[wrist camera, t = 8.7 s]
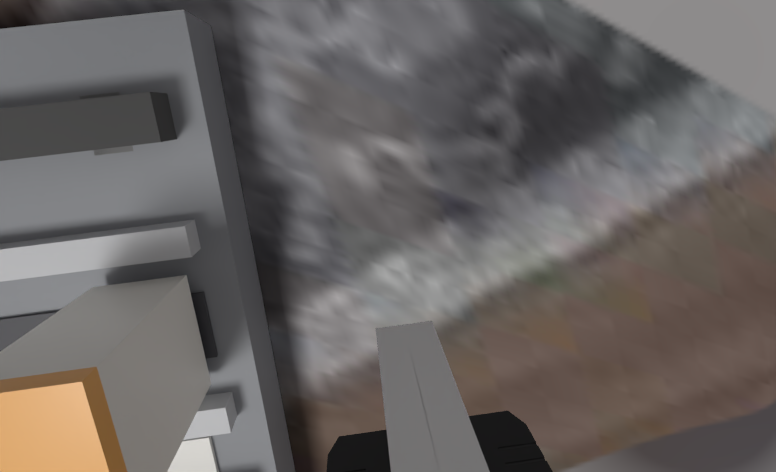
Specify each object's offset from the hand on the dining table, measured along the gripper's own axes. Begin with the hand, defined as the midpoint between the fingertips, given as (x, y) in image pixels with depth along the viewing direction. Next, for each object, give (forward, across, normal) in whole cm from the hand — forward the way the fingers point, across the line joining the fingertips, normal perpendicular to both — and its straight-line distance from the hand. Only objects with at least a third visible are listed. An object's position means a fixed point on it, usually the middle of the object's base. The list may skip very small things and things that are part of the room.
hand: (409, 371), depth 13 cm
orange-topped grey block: (+4, -8, 0) cm, 9 cm away
